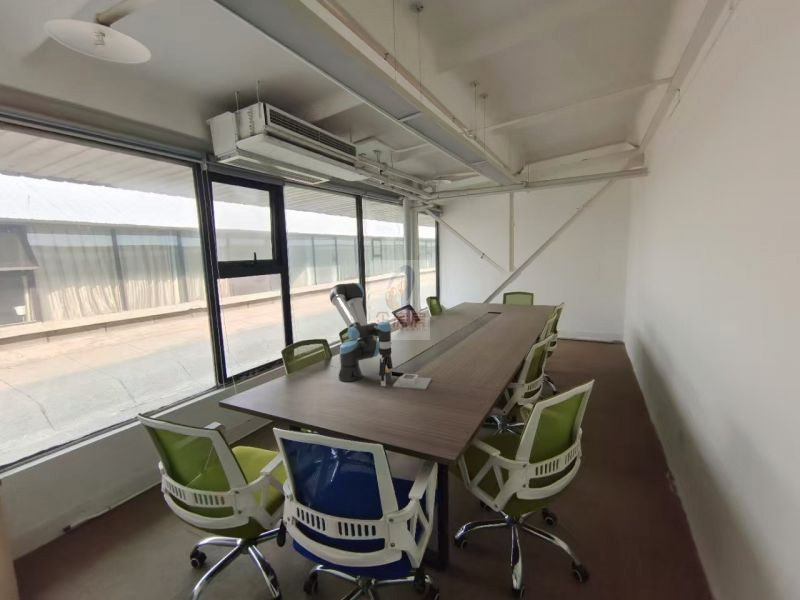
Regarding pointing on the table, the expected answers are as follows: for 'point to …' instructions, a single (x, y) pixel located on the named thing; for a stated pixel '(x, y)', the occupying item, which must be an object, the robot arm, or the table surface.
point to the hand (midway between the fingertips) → (386, 382)
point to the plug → (388, 376)
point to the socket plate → (412, 381)
